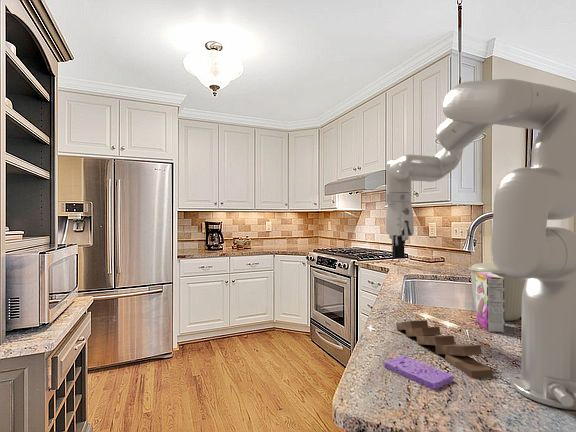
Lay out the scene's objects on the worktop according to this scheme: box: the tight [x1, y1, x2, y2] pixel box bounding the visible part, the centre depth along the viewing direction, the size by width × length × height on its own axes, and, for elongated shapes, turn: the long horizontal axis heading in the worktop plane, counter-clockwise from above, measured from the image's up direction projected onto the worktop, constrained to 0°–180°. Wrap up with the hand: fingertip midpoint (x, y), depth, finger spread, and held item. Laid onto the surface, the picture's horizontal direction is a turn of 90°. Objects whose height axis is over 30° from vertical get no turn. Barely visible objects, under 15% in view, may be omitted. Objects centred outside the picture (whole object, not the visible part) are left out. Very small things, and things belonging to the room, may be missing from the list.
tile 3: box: [415, 334, 456, 346], centre depth 90 cm, size 2×5×9 cm
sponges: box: [383, 354, 454, 390], centre depth 75 cm, size 7×13×2 cm, turn 34°
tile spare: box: [444, 354, 494, 379], centre depth 78 cm, size 2×5×9 cm
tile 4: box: [405, 326, 441, 338], centre depth 96 cm, size 2×5×9 cm
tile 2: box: [434, 343, 483, 357], centre depth 83 cm, size 2×5×9 cm
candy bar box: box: [475, 272, 506, 334], centre depth 109 cm, size 11×5×16 cm, turn 168°
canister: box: [468, 257, 526, 322], centre depth 121 cm, size 18×18×21 cm
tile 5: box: [395, 319, 429, 331], centre depth 101 cm, size 2×5×9 cm
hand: (398, 258), depth 109 cm, fingers closed
